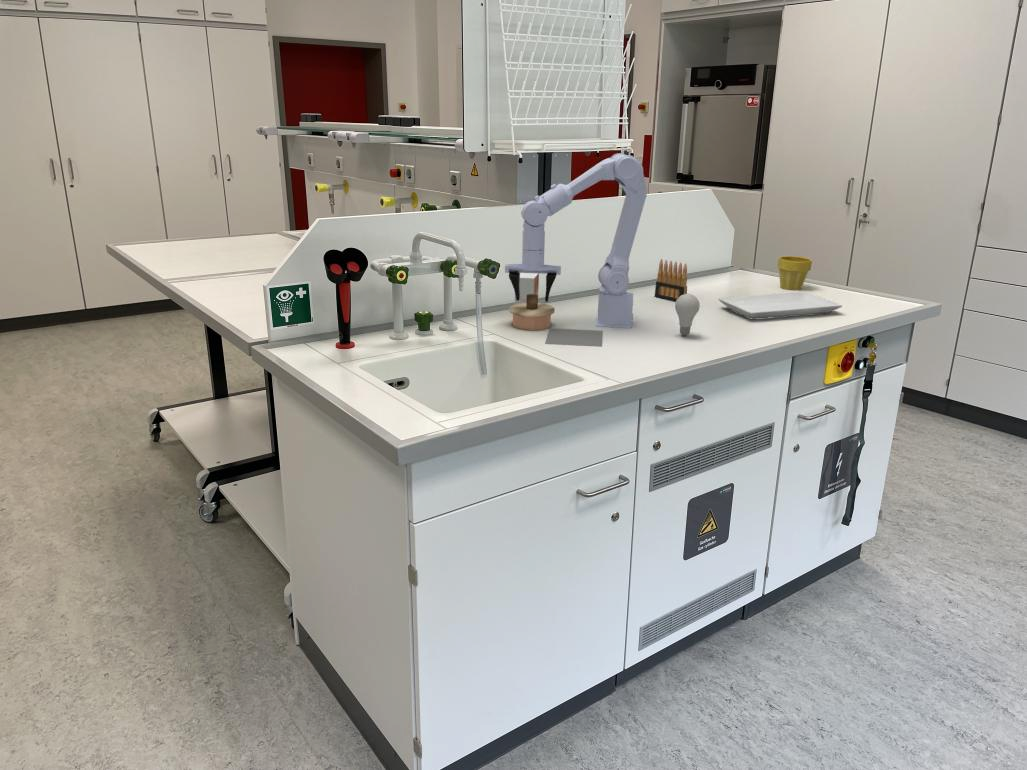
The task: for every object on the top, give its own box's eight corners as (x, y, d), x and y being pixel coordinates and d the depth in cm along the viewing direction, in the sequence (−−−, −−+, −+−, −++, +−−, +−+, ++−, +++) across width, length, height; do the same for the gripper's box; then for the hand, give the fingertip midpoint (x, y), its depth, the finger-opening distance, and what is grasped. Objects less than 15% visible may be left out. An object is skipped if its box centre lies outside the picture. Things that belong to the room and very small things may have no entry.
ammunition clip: (686, 302, 230) (690, 263, 226) (682, 303, 228) (686, 264, 224) (657, 296, 237) (660, 258, 233) (654, 297, 236) (657, 258, 232)
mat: (602, 331, 199) (602, 330, 198) (602, 347, 186) (602, 346, 185) (549, 329, 200) (549, 328, 200) (544, 344, 187) (544, 343, 187)
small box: (533, 315, 214) (534, 278, 210) (514, 314, 215) (514, 277, 211) (538, 308, 221) (539, 272, 217) (519, 307, 222) (520, 271, 218)
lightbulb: (682, 340, 192) (686, 297, 189) (667, 334, 197) (671, 292, 194) (701, 337, 195) (705, 295, 191) (686, 331, 200) (689, 290, 196)
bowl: (551, 321, 208) (552, 307, 206) (548, 331, 198) (549, 316, 197) (515, 319, 209) (515, 305, 207) (510, 329, 199) (511, 314, 198)
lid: (562, 309, 204) (562, 293, 202) (541, 319, 194) (541, 302, 193) (523, 303, 210) (523, 288, 208) (500, 312, 200) (501, 296, 198)
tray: (842, 316, 219) (844, 304, 217) (748, 323, 209) (750, 311, 208) (804, 302, 234) (806, 291, 232) (715, 309, 224) (716, 297, 223)
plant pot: (812, 287, 251) (816, 258, 248) (801, 293, 244) (806, 262, 240) (781, 283, 257) (785, 254, 254) (770, 288, 250) (773, 258, 246)
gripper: (562, 247, 199) (560, 297, 204) (507, 245, 201) (507, 295, 206) (560, 251, 193) (558, 304, 197) (504, 249, 194) (503, 301, 199)
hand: (532, 300), depth 201 cm, fingers open, 7 cm apart
